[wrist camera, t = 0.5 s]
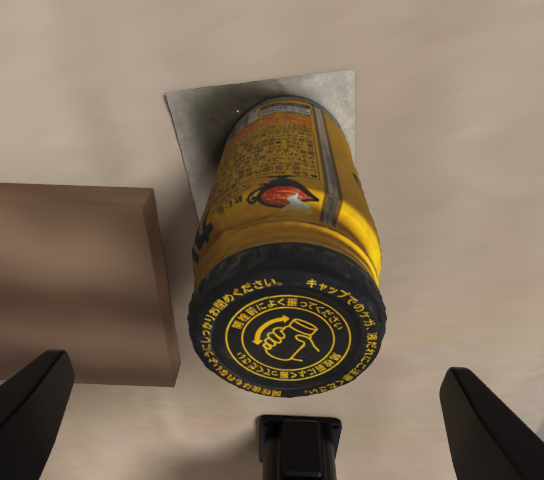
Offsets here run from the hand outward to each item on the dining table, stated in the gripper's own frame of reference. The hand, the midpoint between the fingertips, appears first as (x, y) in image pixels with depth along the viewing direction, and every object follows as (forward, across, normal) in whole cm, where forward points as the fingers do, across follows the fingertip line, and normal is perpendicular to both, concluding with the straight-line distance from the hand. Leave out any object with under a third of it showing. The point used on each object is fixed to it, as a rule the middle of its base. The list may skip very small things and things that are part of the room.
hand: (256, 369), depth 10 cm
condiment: (+13, 0, 0) cm, 13 cm away
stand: (+13, +12, +9) cm, 20 cm away
